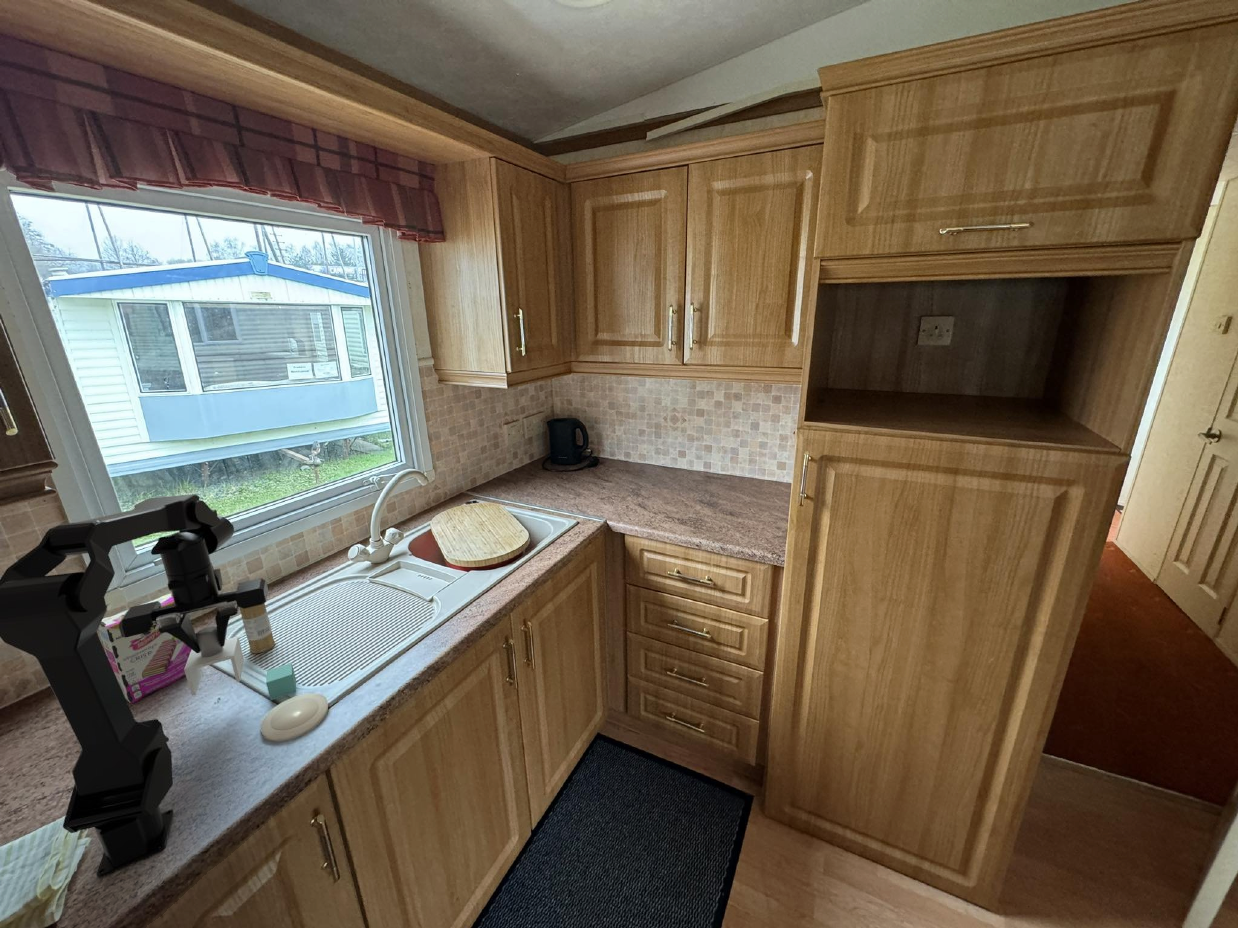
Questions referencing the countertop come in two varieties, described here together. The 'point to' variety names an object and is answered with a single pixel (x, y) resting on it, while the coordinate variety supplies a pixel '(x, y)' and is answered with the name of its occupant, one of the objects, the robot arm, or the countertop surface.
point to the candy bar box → (143, 656)
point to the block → (281, 681)
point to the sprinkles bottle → (257, 628)
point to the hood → (212, 656)
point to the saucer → (294, 717)
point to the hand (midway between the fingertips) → (211, 648)
